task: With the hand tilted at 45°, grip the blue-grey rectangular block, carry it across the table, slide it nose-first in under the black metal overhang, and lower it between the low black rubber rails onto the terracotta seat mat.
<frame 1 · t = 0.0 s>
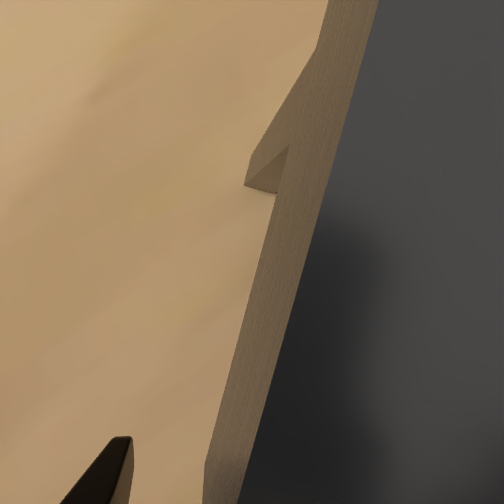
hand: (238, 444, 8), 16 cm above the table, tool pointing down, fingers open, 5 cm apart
overhang seat: (331, 298, 24), on the table
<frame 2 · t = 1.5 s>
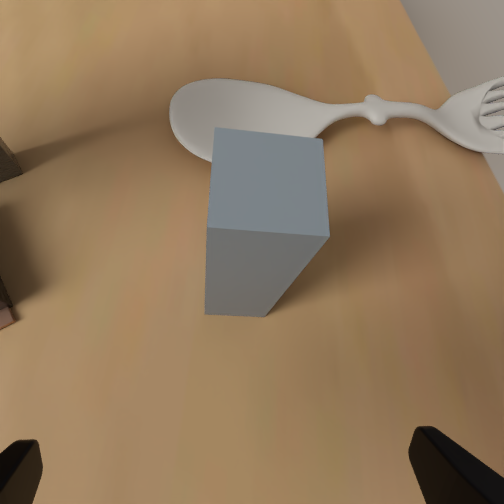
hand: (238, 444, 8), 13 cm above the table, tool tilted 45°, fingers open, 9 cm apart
spoon: (353, 135, 31), on the table
blue-grey rectangular block: (235, 286, 24), on the table
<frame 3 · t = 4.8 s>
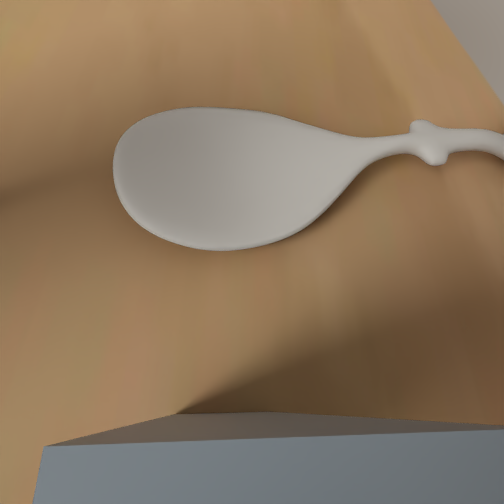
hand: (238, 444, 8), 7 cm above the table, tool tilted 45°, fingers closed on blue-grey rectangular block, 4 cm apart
spoon: (390, 177, 22), on the table
blue-grey rectangular block: (222, 468, 14), on the table, touching gripper
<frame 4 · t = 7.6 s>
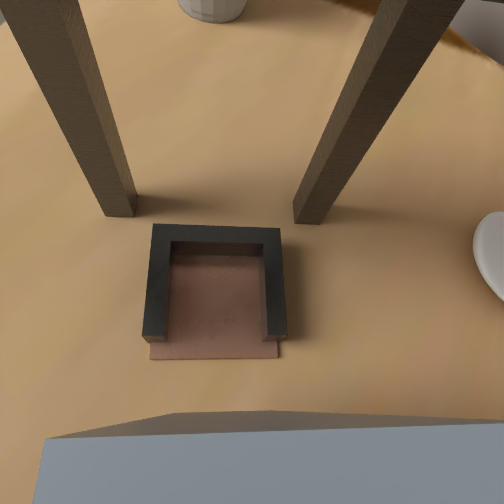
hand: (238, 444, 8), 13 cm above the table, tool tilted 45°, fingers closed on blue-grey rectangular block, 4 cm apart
overhang seat: (215, 297, 23), on the table
coffee cup: (211, 3, 37), on the table
blue-grey rectangular block: (223, 467, 14), point 7 cm above the table, touching gripper
when the fingers open (8 cm above the table, at t = 10.9 s): blue-grey rectangular block drops 1 cm, resting on overhang seat.
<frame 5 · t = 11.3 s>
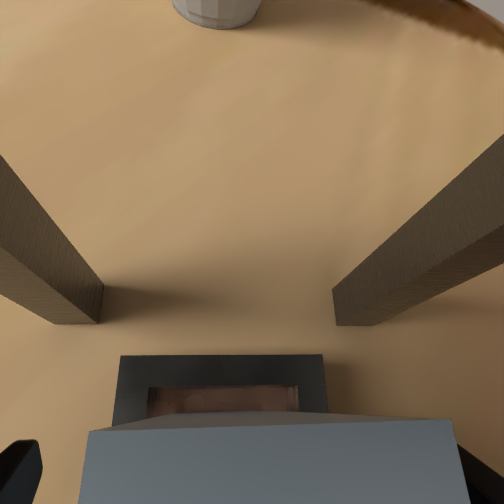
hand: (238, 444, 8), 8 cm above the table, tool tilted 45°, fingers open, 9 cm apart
overhang seat: (220, 463, 15), on the table
coffee cup: (214, 3, 28), on the table
blue-grey rectangular block: (220, 463, 15), resting on overhang seat
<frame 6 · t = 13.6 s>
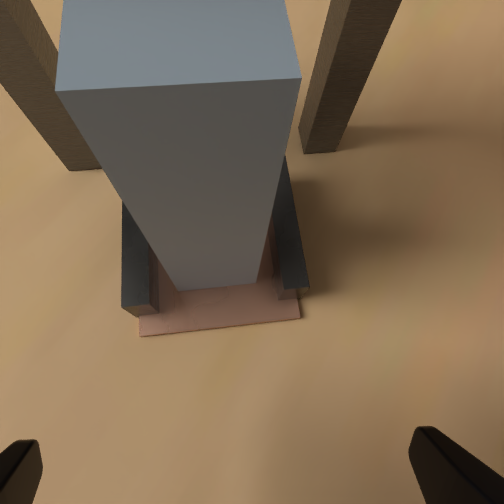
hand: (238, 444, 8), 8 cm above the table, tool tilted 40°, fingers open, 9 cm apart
overhang seat: (214, 253, 19), on the table
blue-grey rectangular block: (214, 251, 18), resting on overhang seat
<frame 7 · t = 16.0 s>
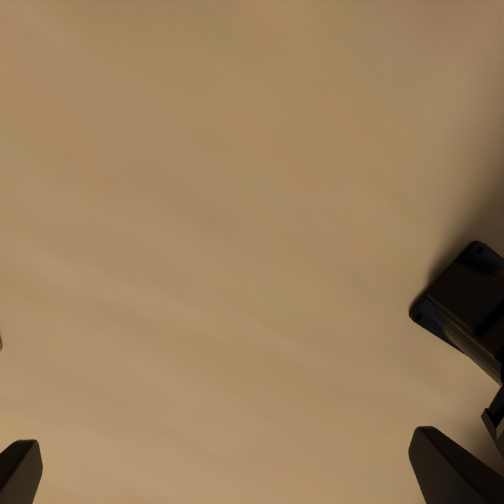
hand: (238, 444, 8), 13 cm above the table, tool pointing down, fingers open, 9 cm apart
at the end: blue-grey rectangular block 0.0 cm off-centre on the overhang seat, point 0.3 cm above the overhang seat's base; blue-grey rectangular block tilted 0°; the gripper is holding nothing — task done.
